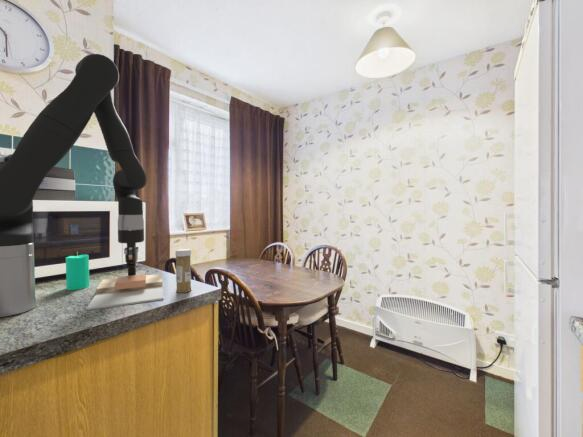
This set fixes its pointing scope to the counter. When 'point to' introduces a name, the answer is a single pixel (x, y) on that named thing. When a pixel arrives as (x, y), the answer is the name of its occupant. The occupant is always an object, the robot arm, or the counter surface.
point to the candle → (77, 272)
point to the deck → (109, 286)
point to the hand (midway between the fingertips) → (132, 278)
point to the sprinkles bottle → (183, 270)
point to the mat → (126, 297)
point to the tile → (130, 281)
